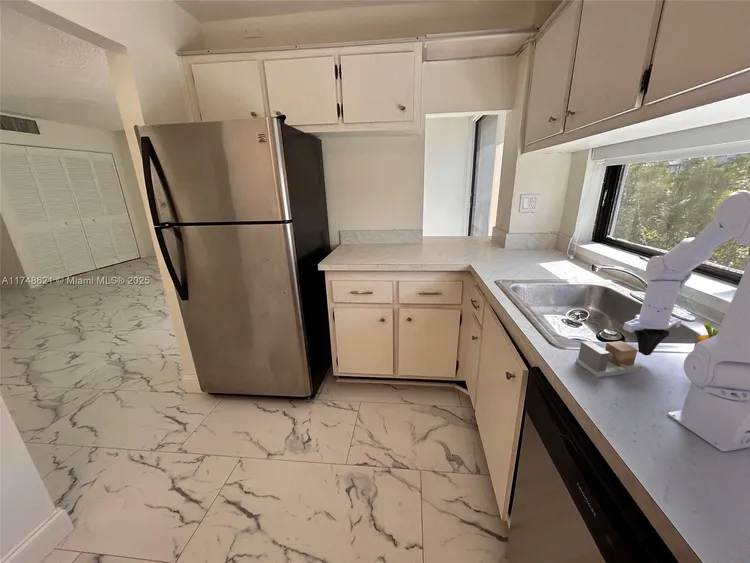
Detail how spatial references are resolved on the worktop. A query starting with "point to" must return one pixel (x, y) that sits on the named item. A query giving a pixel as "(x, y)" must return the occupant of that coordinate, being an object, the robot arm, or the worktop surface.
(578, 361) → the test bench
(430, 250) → the worktop surface
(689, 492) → the worktop surface
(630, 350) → the block
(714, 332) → the carrot
